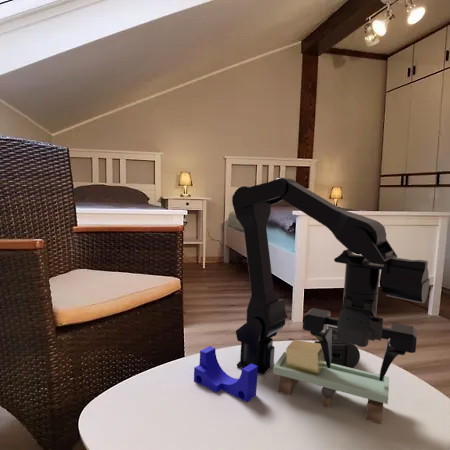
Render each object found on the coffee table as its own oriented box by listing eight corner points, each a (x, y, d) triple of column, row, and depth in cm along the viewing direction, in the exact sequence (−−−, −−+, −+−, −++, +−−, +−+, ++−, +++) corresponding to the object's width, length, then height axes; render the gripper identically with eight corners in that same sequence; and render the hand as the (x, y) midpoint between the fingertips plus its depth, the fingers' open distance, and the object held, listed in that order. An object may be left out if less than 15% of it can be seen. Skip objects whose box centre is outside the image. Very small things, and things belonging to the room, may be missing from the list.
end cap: (358, 373, 80) (361, 344, 79) (327, 373, 79) (329, 343, 78) (341, 352, 90) (343, 326, 89) (312, 352, 89) (315, 325, 88)
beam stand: (277, 393, 70) (278, 373, 70) (288, 377, 77) (289, 358, 76) (380, 425, 62) (382, 403, 62) (383, 404, 68) (385, 384, 68)
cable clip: (193, 381, 73) (194, 353, 73) (208, 373, 77) (209, 346, 76) (241, 406, 66) (243, 375, 65) (255, 396, 69) (257, 366, 69)
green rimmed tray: (273, 376, 70) (273, 366, 70) (283, 361, 76) (284, 351, 76) (387, 407, 62) (388, 396, 61) (388, 387, 68) (389, 377, 68)
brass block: (286, 368, 70) (286, 348, 70) (294, 358, 74) (293, 339, 74) (318, 374, 67) (317, 353, 67) (324, 364, 72) (323, 344, 71)
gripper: (297, 292, 62) (291, 379, 64) (420, 313, 54) (411, 412, 55) (312, 279, 72) (307, 354, 74) (419, 294, 64) (411, 379, 65)
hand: (354, 373), depth 67 cm, fingers open, 9 cm apart
